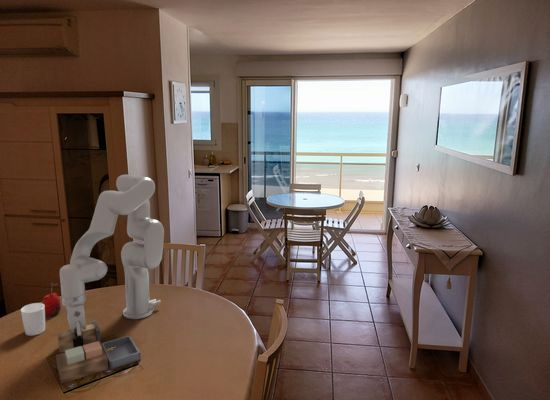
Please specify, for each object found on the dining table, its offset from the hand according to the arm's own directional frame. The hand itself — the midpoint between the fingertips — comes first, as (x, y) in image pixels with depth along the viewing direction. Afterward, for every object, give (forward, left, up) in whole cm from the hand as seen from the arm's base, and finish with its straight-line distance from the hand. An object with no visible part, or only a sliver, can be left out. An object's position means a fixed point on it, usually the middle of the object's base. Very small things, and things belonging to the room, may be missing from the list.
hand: (77, 343), depth 147 cm
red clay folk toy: (+5, -31, -1) cm, 31 cm away
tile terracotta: (-3, +15, +3) cm, 16 cm away
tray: (-12, +15, -1) cm, 19 cm away
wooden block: (+1, +15, -1) cm, 15 cm away
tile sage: (+3, +15, +3) cm, 16 cm away
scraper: (0, 0, -1) cm, 1 cm away
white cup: (+12, -19, -1) cm, 22 cm away
